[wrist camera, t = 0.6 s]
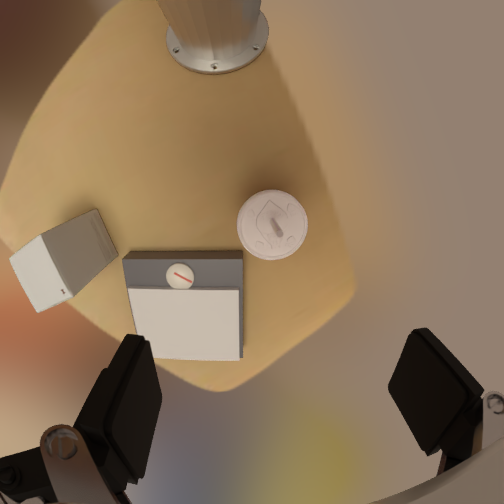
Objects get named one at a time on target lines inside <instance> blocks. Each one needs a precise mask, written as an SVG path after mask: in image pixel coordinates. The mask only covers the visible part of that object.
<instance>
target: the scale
mask: <svg viewBox="0 0 504 504" xmlns="http://www.w3.org/2000/svg"><path fill="white" fill-rule="evenodd" d="M122 262H123V269H124V275H125V281H126V286H127V292H128V297H129V302H130V307H131V311H132V316H133V320H134V325H135V329H136V333H137V335H143V336H144V337H145V340H149V341H150V344H151V349H152V354H153V358H166V359H183V360H212V361H240V358H243V254H242V251H130V252H129V253H128V254H127V255H126V256H125V257H124V258H123V259H122Z"/></svg>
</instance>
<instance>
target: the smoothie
mask: <svg viewBox="0 0 504 504" xmlns="http://www.w3.org/2000/svg"><path fill="white" fill-rule="evenodd" d="M307 229H308V220H307V216H306V213H305V210H304V208H303V207H302V205H301V204H300V203H299V202H298V201H297V200H296V199H295V198H294V197H293V196H292V195H290V194H288V193H286V192H284V191H280V190H265V191H261V192H258V193H256V194H255V195H253V196H251V197H250V198H249V199H248V200H247V201H246V202H245V203H244V204H243V206H242V207H241V209H240V211H239V214H238V218H237V232H238V235H239V238H240V241H241V243H242V244H243V246H244V247H245V248H246V249H247V250H248V251H249V252H250V253H251V254H253V255H254V256H256V257H258V258H261V259H265V260H278V259H282V258H285V257H287V256H289V255H291V254H292V253H294V252H295V251H296V250H297V249H298V248H299V247H300V246H301V244H302V243H303V241H304V239H305V237H306V234H307Z"/></svg>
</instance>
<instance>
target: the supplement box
mask: <svg viewBox="0 0 504 504" xmlns="http://www.w3.org/2000/svg"><path fill="white" fill-rule="evenodd" d="M117 256H118V254H117V251H116V249H115V247H114V245H113V243H112V241H111V239H110V237H109V235H108V232H107V230H106V228H105V226H104V223H103V221H102V219H101V217H100V214H99V212H98V210H97V209H94V210H92V211H89V212H87V213H84V214H82V215H80V216H78V217H75V218H73V219H71V220H69V221H67V222H65V223H63V224H61V225H58V226H56V227H54V228H52V229H50V230H48V231H46V232H44V233H42V234H40V235H38V236H37V237H35V238H34V239H32V240H31V241H30V242H28V243H27V244H26V245H24V246H23V247H22V248H21V249H19V250H18V251H17V252H16V253H14V254H13V255H12V256H11V257H10V258H9V260H10V263H11V265H12V267H13V269H14V271H15V273H16V275H17V277H18V279H19V281H20V283H21V285H22V287H23V289H24V291H25V293H26V294H27V296H28V298H29V299H30V301H31V303H32V305H33V307H34V308H35V310H36V312H37V313H39V312H42V311H44V310H46V309H48V308H50V307H53V306H55V305H57V304H59V303H61V302H64V301H66V300H68V299H71V298H73V297H74V296H75V295H76V294H77V293H78V292H79V291H80V290H82V289H83V288H84V287H85V286H86V285H87V284H88V283H89V282H90V281H91V280H92V279H93V278H94V277H95V276H96V275H97V274H98V273H99V272H100V271H102V270H103V269H104V268H105V267H106V266H107V265H108V264H109V263H110V262H112V261H113V260H114V259H115V258H116V257H117Z"/></svg>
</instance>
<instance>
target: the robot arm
mask: <svg viewBox="0 0 504 504" xmlns="http://www.w3.org/2000/svg"><path fill="white" fill-rule="evenodd" d="M157 2H158V4H159V6H160V8H161V9H162V11H163V13H164V15H165V17H166V19H167V21H168V23H169V26H168V29H167V33H166V44H167V47H168V50H169V52H170V54H171V55H172V57H173V58H174V59H175V61H177V62H178V63H179V64H180V65H181V66H183V67H185V68H187V69H189V70H191V71H194V72H197V73H203V74H222V73H228V72H232V71H235V70H238V69H240V68H242V67H244V66H246V65H248V64H249V63H251V62H252V61H254V60H255V59H256V58H257V57H258V56H259V55H260V54H261V52H262V51H263V49H264V48H265V45H266V42H267V39H268V35H269V27H268V23H267V20H266V18H265V16H264V15H263V13H262V12H261V11H260V4H261V0H157ZM255 48H256V49H257V50H254V49H255ZM177 51H179V52H178V53H176V52H177ZM214 67H217V69H215V70H214V69H213V68H214ZM388 390H389V393H390V394H391V396H392V398H393V400H394V401H395V403H396V405H397V407H398V408H399V410H400V411H401V414H402V415H403V417H404V419H405V421H406V423H407V424H408V426H409V428H410V430H411V432H412V433H413V435H414V437H415V439H416V441H417V442H418V444H419V446H420V448H421V450H423V451H425V453H426V455H427V456H430V455H432V454H434V453H436V452H438V451H439V450H440V449H441V450H442V451H443V452H442V455H441V460H440V464H439V468H438V472H437V475H436V477H434V478H432V479H430V480H428V481H426V482H424V483H422V484H419V485H417V486H415V487H413V488H410V489H408V490H405V491H403V492H400V493H398V494H395V495H392V496H390V497H387V498H384V499H381V500H378V501H375V502H372V503H369V504H504V395H503V394H501V393H499V392H496V391H491V392H488V393H487V394H485V396H484V397H483V399H481V397H480V396H481V395H482V393H483V392H484V389H483V388H482V386H481V385H480V384H479V383H478V382H477V381H476V380H475V378H474V377H473V376H472V375H471V374H470V373H469V371H468V370H467V369H466V368H465V367H464V366H463V365H462V364H461V363H460V362H459V360H458V359H457V358H456V357H455V356H454V355H453V354H452V353H451V352H450V351H449V350H448V349H447V348H446V347H445V345H444V344H443V343H442V342H441V341H440V340H439V339H438V338H437V337H436V336H435V335H434V334H433V333H432V332H431V331H430V330H429V329H428V328H420V329H414V330H413V331H412V332H411V334H409V336H408V338H407V340H406V343H405V346H404V348H403V351H402V353H401V356H400V358H399V361H398V363H397V366H396V368H395V371H394V373H393V375H392V377H391V380H390V382H389V384H388ZM161 403H162V393H161V389H160V385H159V381H158V377H157V372H156V368H155V364H154V359H153V354H152V349H151V344H150V341H149V340H145V337H144V336H143V335H134V334H127V335H126V336H125V337H124V339H123V341H122V343H121V345H120V346H119V348H118V350H117V352H116V353H115V355H114V357H113V359H112V361H111V363H110V364H109V366H108V368H104V369H103V370H102V371H101V373H100V375H99V377H98V379H97V380H96V382H95V384H94V386H93V388H92V390H91V392H90V394H89V395H88V397H87V399H86V401H85V403H84V405H83V407H82V410H81V411H80V413H79V415H78V417H77V419H76V421H75V423H74V425H73V427H71V426H69V425H64V424H60V425H54V426H52V427H50V428H48V429H47V430H46V431H45V432H44V433H43V435H42V436H41V440H40V446H39V447H36V448H33V449H30V450H27V451H23V452H20V453H16V454H13V455H9V456H5V457H2V458H0V504H132V502H131V501H130V499H129V498H128V496H127V495H126V493H125V492H124V490H126V486H127V482H128V483H132V484H136V485H137V483H138V479H139V478H141V479H142V478H143V477H144V475H145V470H146V466H147V461H148V456H149V452H150V448H151V444H152V439H153V435H154V431H155V427H156V423H157V419H158V415H159V411H160V407H161Z"/></svg>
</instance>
